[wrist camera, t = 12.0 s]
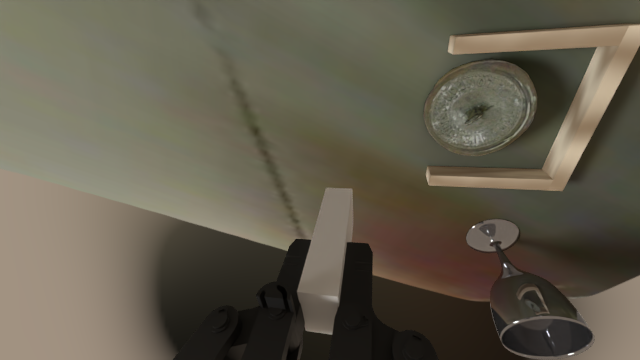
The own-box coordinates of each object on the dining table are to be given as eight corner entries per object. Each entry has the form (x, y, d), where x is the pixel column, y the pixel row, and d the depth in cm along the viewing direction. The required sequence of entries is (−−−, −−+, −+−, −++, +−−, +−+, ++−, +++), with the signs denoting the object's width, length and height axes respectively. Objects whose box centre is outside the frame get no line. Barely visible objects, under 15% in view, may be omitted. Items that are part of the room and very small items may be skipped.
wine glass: (451, 240, 41) (483, 339, 28) (490, 208, 36) (549, 308, 24) (493, 261, 41) (542, 366, 29) (536, 232, 37) (616, 341, 24)
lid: (502, 147, 31) (521, 167, 27) (418, 146, 33) (423, 165, 29) (534, 53, 26) (564, 60, 22) (430, 59, 28) (439, 66, 24)
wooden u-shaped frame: (450, 35, 26) (456, 37, 24) (626, 23, 23) (651, 24, 21) (425, 175, 35) (428, 185, 33) (550, 179, 32) (562, 190, 30)
